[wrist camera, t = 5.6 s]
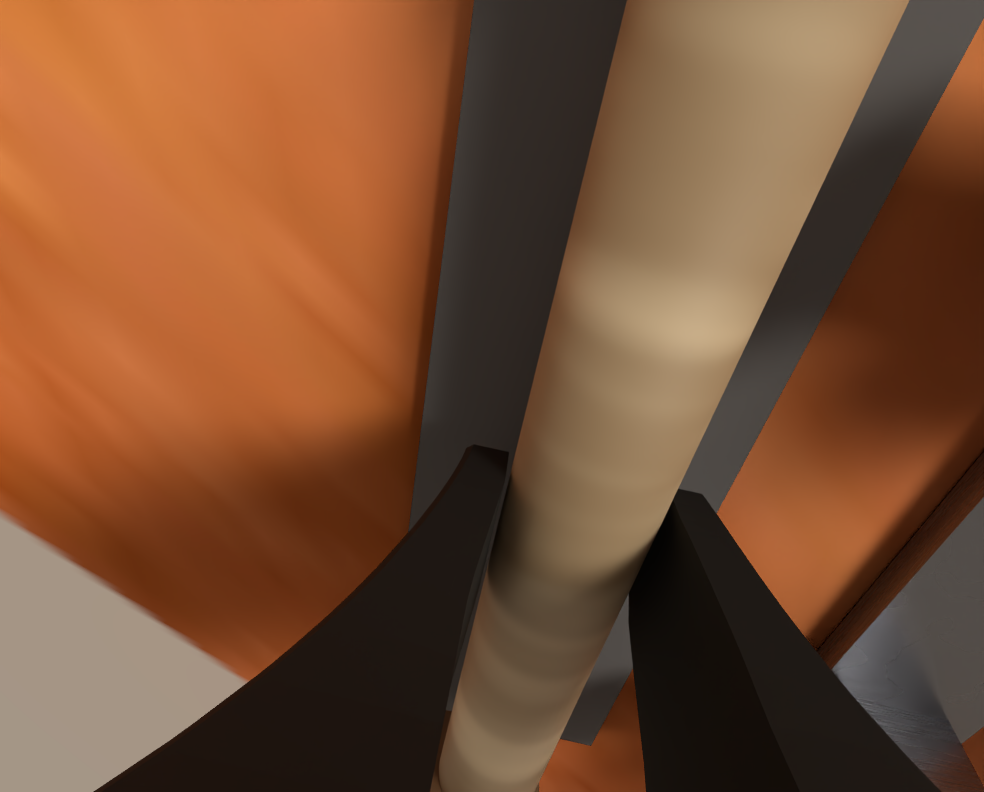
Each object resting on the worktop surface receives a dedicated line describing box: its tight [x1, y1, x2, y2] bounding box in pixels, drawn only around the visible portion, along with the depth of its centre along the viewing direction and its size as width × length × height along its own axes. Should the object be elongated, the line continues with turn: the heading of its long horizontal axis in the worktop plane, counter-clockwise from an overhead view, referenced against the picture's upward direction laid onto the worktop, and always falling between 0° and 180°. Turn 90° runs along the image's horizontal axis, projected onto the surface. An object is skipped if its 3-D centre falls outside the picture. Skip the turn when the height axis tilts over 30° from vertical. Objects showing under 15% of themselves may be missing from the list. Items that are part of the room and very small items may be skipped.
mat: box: [408, 0, 984, 746], centre depth 11 cm, size 6×20×1 cm, turn 170°
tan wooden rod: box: [430, 0, 909, 792], centre depth 9 cm, size 19×3×3 cm, turn 170°
